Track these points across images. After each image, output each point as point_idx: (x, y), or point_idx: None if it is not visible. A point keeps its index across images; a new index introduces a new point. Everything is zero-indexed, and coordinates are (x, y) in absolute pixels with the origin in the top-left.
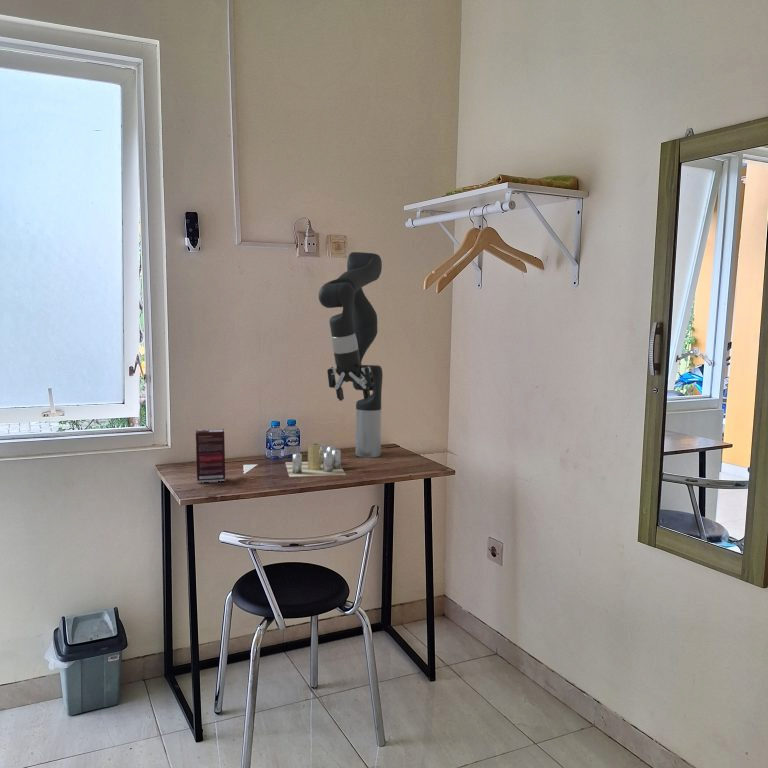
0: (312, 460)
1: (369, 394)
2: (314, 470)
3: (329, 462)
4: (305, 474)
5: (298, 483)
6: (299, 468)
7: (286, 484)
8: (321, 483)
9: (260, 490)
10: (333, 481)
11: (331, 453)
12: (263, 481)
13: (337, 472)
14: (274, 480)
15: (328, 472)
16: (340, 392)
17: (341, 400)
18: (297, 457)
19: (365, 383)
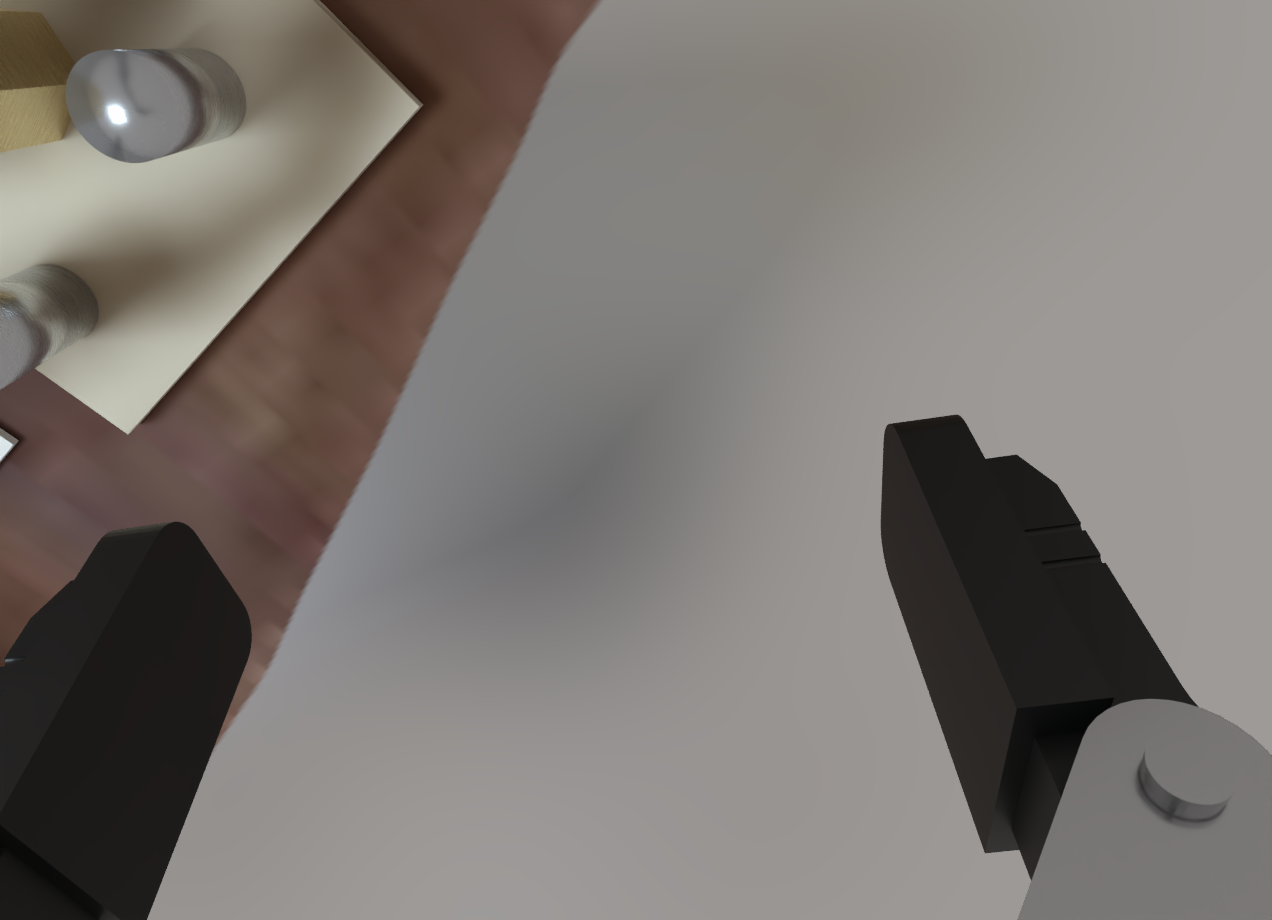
0: (5, 150)
1: (1063, 537)
2: (89, 147)
3: (209, 131)
4: (157, 310)
5: (273, 459)
6: (76, 330)
7: (234, 522)
8: (396, 367)
9: (237, 694)
10: (424, 267)
11: (165, 100)
12: (53, 553)
13: (301, 81)
14: (80, 494)
15: (241, 133)
16: (156, 805)
17: (247, 623)
18: (14, 380)
19: (1147, 900)
